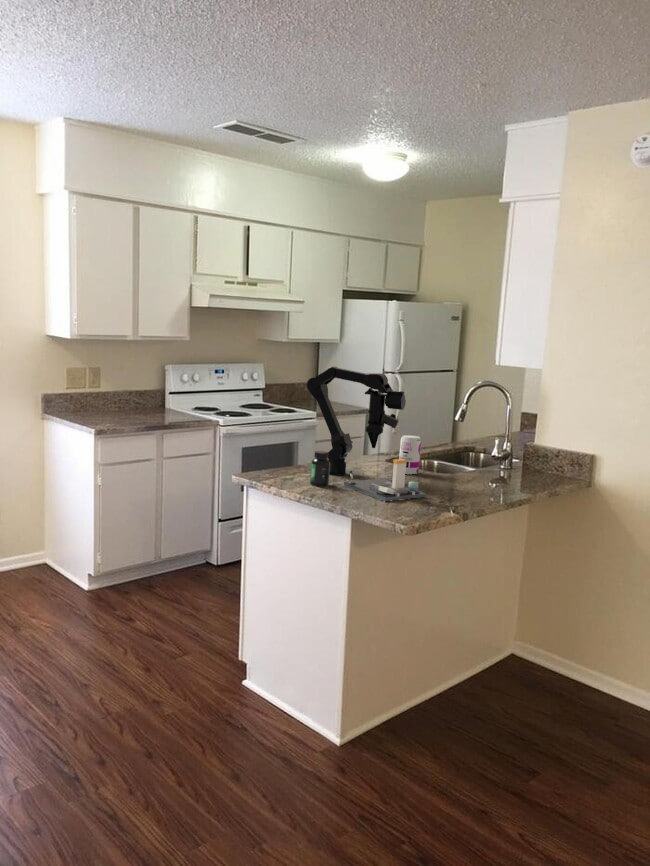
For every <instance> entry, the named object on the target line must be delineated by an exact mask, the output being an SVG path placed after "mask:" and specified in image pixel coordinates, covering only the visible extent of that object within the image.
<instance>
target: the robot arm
mask: <svg viewBox="0 0 650 866" xmlns="http://www.w3.org/2000/svg"><path fill="white" fill-rule="evenodd" d="M334 379H340V380H344V381H349V382H354V383H359V384H362V385H364V387H365V386H366V387H368V389H367V390H366V391H365V392H364V395H369V404H368V419H367V425H366V426H365V432H366V433H367V435H368V439H369V441H370V445H371V448H372V449H376V447H377V443H378V439H379V436H380V435H381V434H383V433H384V428H385V425H386V426H389V427H391V428H392V429H396V427H397V425H398V423H399V421H400V420H399V419H398V418H397V415H396V414H394V413H391V414H390V415H389V414H387V413H386V410H385V407H387V409H391V410H400V411H404V409H405V407H406V396H405V391H403V390H401V391H400V390H399V391H396V390H393V389H392V387H391V385H390V383H389V379H388V377H387V375H386V374H384V373H379V372H378V373H377V372H376V373H373V372H371V373H369V372H368V373H364V372H360V371H356V370H355V371H354V370H350V369H345V368H340V367H338V366H329V367H328V368H327V369H326V370H323V372H321V373H320V374H318V375H317V376H314V377H313V376H312V377H310V378H309V379H308V380H307V383H306V388H307V391H308V392H309V393H310V395H311V396H312V397H313V399H315V401H316V403H317V404H318V407H319V408H320V409H319V410H320V412H321V414H322V417H323V420H324V421H325V425H326V426H327V428H328V429H327V430H328V431H329V433H330V443H331V449H330V450H329V451H327V452H328V458H327V459H328V460H329V461H330V475H331V476H333V475H334V476H344V475H345V474H346V473H347V461H346V458H347V457H348V454H349V453H351V452H352V449H353V443H354V442H353V441H352V439H351V436H350V433H349V432H348V433H345V432H344V431H343V429H342V428H341V425H340V422H339V420H338V417H337V415H336V413H335V410H334V407H333V405H332V403H331V401H330V399H329V387H328V385H329V384H331V382H332V381H333V380H334Z"/></svg>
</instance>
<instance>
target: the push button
mask: <svg viewBox="0 0 650 866" xmlns="http://www.w3.org/2000/svg"><path fill="white" fill-rule="evenodd" d="M407 487H408V489H411V490H419V482H418V481H411V480H410V481H408V486H407Z"/></svg>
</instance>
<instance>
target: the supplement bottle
mask: <svg viewBox="0 0 650 866" xmlns="http://www.w3.org/2000/svg"><path fill="white" fill-rule="evenodd" d="M328 452H329V451H324V450H316V451H314V455H313V457H314V458H313V459H312V460H311V462H310V463H311V464H310V475H309V476H310V478H309V480H310V481H309V484H310V485H311V486H312V487H316V488H317V487H318V488H319V487H320V488H323V487H324V488H325V487H326V488H327V487H328V486H329V484H330V475H331V474H330V461H329V459H328Z"/></svg>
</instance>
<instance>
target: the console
mask: <svg viewBox="0 0 650 866" xmlns="http://www.w3.org/2000/svg"><path fill="white" fill-rule="evenodd" d="M345 486H346V487H345ZM379 486H383V487H387V488H388V487H389V486H392V480H390V479H387V478H383V477H382V478H373V479H361V480H359V479H358V480H349V481H348V480H347V481H343V487H345V488H347V489H350V488H351V490H353V489H354V490H353V491H355V490H357V491H356V492H358V491H359V492H358V493H360V492H362V493H361V494H363V493H365V494H367V495H366V496H368V495H370V496H373V497H375V498H374V499H376V498H378V499H381V500H383V501H390V500H399V499H408V500H410V499H409V498H417V499H421V498H420V497H425V498H426V492H422V491H421V490H419V489H418V490H411V489H408V486H406V485H404V488H407V489H408V493H401V494H400V493H397V492H395V491H394V494H390V493H386V492H383V491H380V490H378V489H379ZM365 494H364V495H365ZM370 496H369V497H370ZM373 497H372V498H373ZM378 499H377V500H378ZM381 500H380V501H381ZM383 501H382V502H383ZM399 501H400V500H399Z"/></svg>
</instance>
